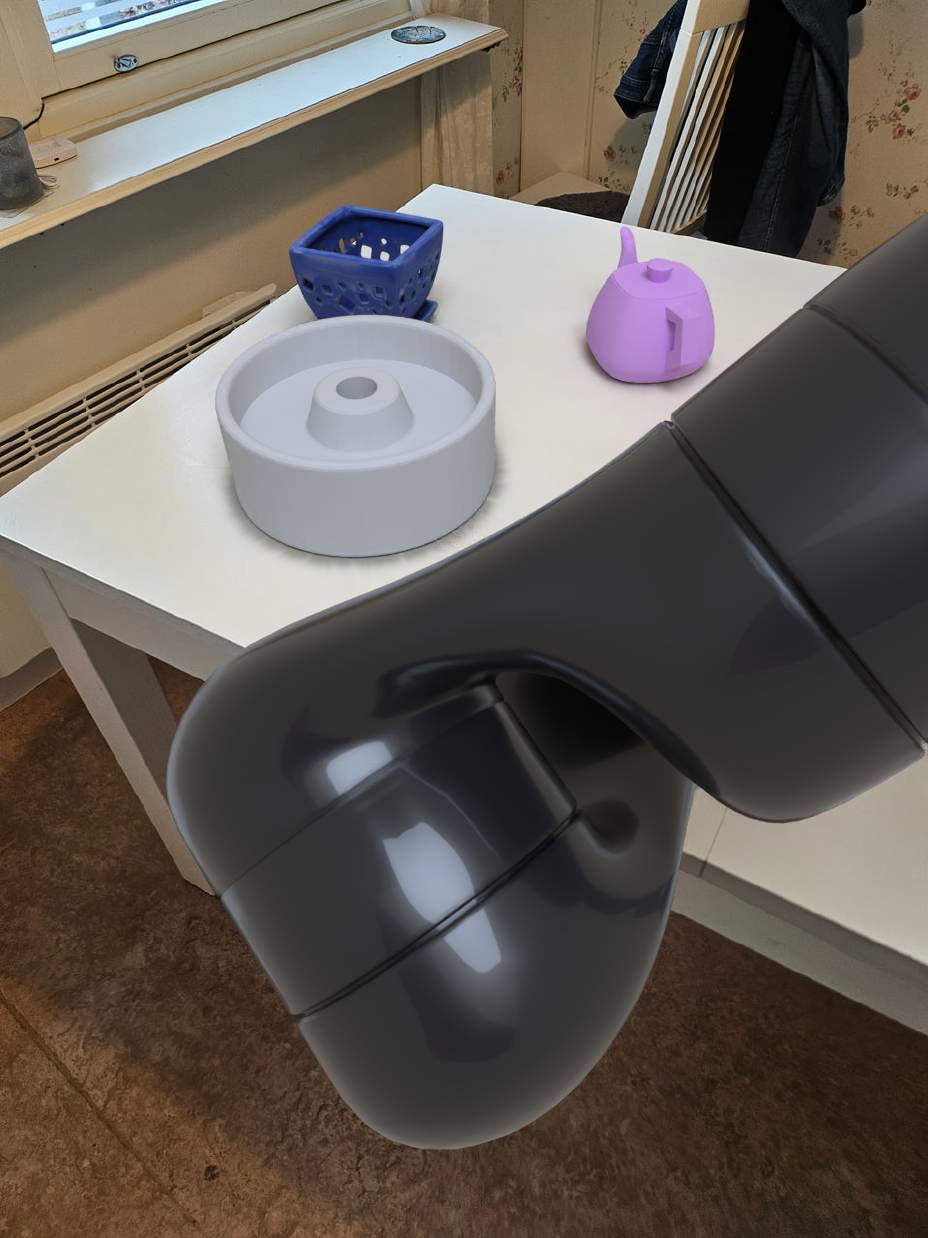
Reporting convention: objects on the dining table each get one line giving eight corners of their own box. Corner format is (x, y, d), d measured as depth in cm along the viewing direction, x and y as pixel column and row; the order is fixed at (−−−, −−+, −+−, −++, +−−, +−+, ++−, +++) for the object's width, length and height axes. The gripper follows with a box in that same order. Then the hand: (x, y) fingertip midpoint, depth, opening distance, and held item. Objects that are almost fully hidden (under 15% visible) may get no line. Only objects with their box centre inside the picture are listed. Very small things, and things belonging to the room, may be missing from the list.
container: (247, 407, 93) (228, 320, 85) (480, 393, 94) (480, 306, 87) (224, 568, 76) (197, 476, 68) (509, 549, 77) (512, 456, 70)
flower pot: (351, 297, 109) (340, 199, 100) (449, 316, 106) (446, 216, 97) (300, 349, 101) (283, 247, 92) (404, 371, 97) (397, 266, 89)
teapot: (662, 306, 107) (677, 214, 98) (737, 393, 93) (762, 295, 85) (559, 321, 104) (565, 228, 96) (621, 412, 91) (635, 313, 83)
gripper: (938, 690, 27) (980, 584, 40) (577, 450, 32) (719, 426, 45) (798, 848, 30) (878, 704, 43) (493, 612, 35) (647, 546, 48)
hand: (797, 563), depth 44 cm, fingers open, 8 cm apart
